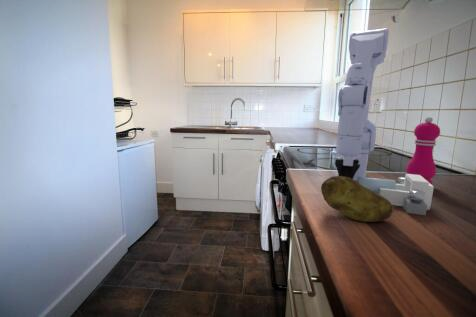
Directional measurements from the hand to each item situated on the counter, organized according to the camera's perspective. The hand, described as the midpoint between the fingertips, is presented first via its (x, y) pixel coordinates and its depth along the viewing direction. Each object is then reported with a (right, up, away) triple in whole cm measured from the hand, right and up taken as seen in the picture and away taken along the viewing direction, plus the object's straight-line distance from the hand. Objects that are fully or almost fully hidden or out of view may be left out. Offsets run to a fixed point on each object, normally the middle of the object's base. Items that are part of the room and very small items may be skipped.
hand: (344, 188), depth 66 cm
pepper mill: (+26, -1, +10) cm, 28 cm away
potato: (-4, -4, -14) cm, 15 cm away
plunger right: (+11, -4, -10) cm, 15 cm away
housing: (+11, -3, -4) cm, 12 cm away
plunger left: (+15, -2, +1) cm, 15 cm away
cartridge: (+5, -2, -2) cm, 5 cm away
